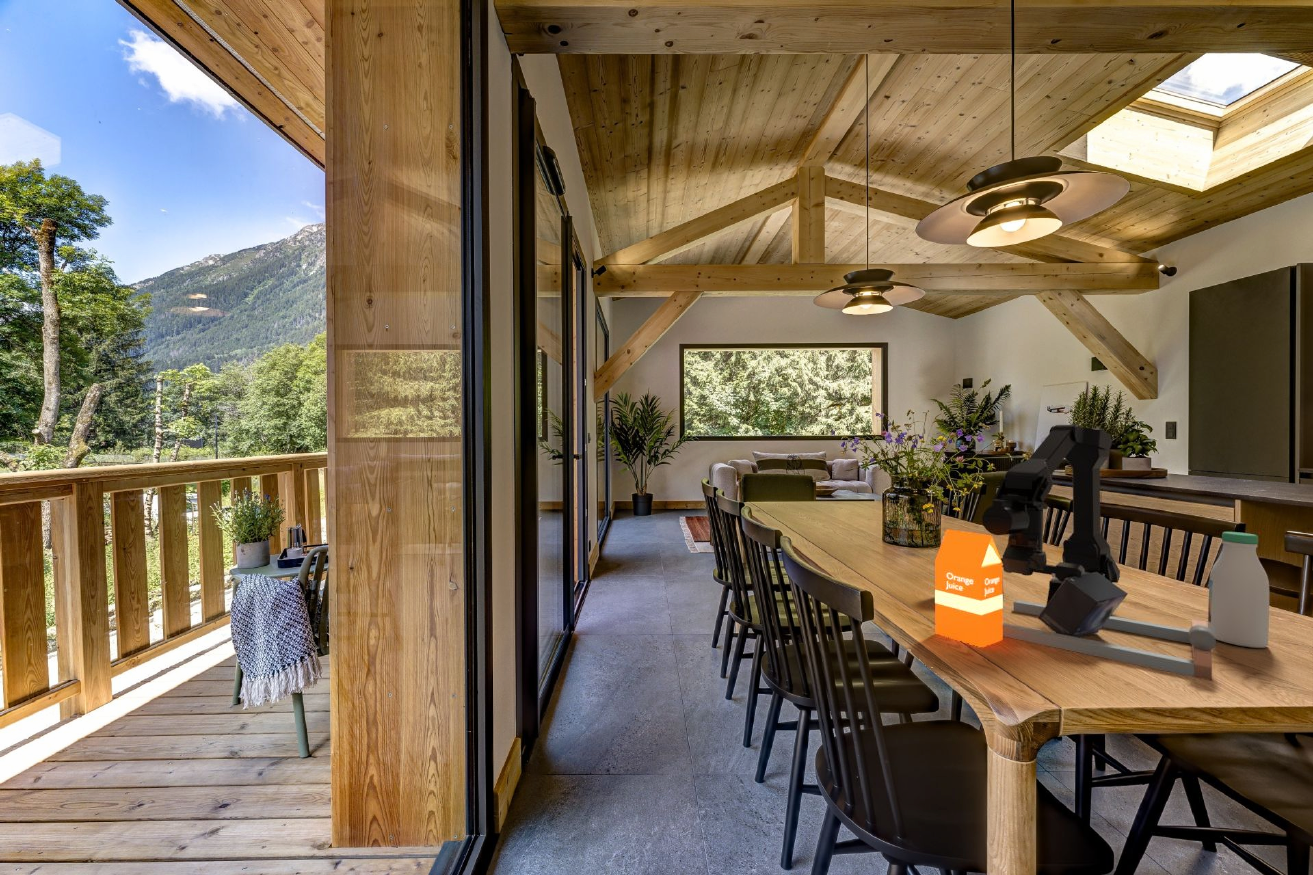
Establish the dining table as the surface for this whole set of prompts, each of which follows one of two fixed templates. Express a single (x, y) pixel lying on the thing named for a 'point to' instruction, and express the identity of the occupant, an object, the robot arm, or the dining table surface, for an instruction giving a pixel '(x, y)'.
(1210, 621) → the milk bottle
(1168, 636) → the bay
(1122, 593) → the small box
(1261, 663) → the dining table surface
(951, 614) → the orange juice
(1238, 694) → the dining table surface
